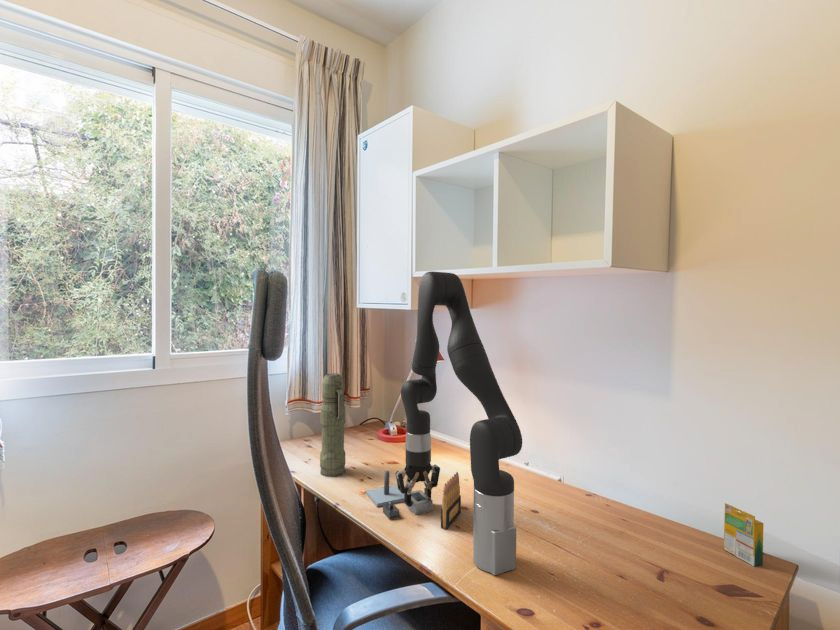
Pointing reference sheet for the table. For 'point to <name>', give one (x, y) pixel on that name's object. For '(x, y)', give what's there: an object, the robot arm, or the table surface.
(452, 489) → the ammunition clip
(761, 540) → the crayon box
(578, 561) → the table surface
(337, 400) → the thermos
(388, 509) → the anchor cleat
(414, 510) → the steel link
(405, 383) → the robot arm
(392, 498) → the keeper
